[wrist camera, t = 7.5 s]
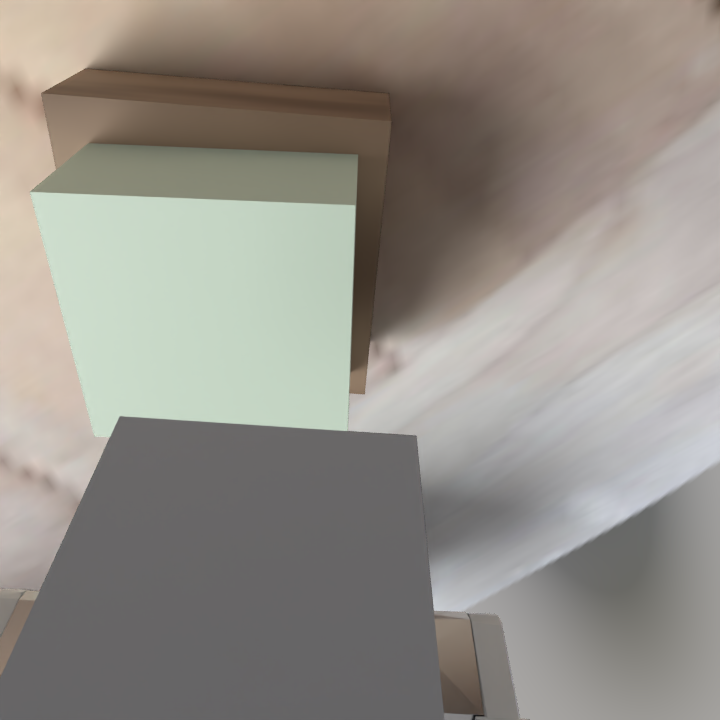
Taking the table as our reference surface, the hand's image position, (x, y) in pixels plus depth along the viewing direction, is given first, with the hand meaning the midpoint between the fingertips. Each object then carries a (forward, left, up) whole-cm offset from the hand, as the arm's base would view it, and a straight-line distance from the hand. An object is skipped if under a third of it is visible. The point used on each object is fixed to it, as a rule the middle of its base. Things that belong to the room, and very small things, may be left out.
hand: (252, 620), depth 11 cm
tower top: (0, -3, -13) cm, 13 cm away
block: (0, 0, -2) cm, 2 cm away
